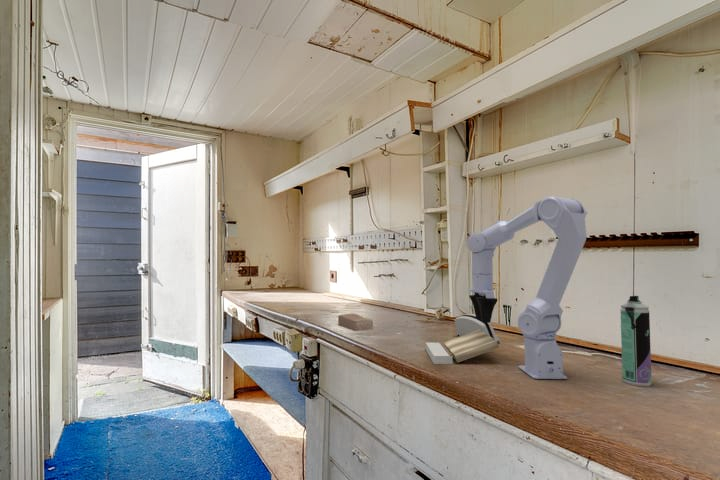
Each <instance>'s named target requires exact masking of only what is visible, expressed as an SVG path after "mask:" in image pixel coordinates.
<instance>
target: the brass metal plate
mask: <svg viewBox="0 0 720 480" xmlns="http://www.w3.org/2000/svg"><path fill="white" fill-rule="evenodd" d="M443 344H444V346H445V347H446V348H447V349H448V351H449V352H450V353H451V354H452V359H453V360H454V361H455V362H456V363H457V364H458V363H460V362H464V361H466V360H468V359H472V358H474V357H475V358H476V357H478V356H480V355H484V354H487V353H488V352H492V351H494V350H497V349H499V348H500V346H499V343H497V341H496V340H495V339H493V338H492V337H490V336H489V335H487V334H486V333H484V332H483V331H481V330H480V329H479V330H477V331H474V332H471V333H468V334H466V335H463V336H457V337H454V338H452V339H449V340H447V341H444V342H443Z"/></svg>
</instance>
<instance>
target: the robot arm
mask: <svg viewBox="0 0 720 480" xmlns="http://www.w3.org/2000/svg"><path fill="white" fill-rule="evenodd" d="M587 214H588V212H587V210H586V208H585V207H584V206H583V204H582V202H581V201H579V200H578V199H575V198H567V197H566V198H564V197H558V196H554V195H549V196H546V197H543V199H542V200H538V201H535V203H534V204H533V205H532V206H531V207H529V208H527V209H526V210H524V211H522V213H519V214H518V215H517V216H515V217H514V218H512V219H511V220H509V221H506V220H496V221H495V222H494V224H493V225H491V226H490V227H488V228H484V229H482V231H481V232H473V233H472V234H471V235H469V237H468V239H467V247H468V249H469V251H471V272H472V273H471V274H472V277H471V278H472V285H471V286H472V288H468V289H467V290H468V292H471V293H472V294H470V295H469V299H470V301H471V303H472V305H473V310H474V314H475V315H476V319H482V322H483V323H490V322H491V321H492V317H493V316H492V315H493V312H494V309H495V306H496V304H497V302H498V298H497V297H496V298H495V291H494V290H495V289H494V280H493V279H494V278H493V276H494V274H493V271H494V270H493V267H494V266H493V258H494V253H495V251H496V249H497V247H499V246H501V245H503V244H505V243H506V242H509V241H510V240H512V239H513V238H514V236H515V233H517V232H519V231H521V230H523V229H525V228H529V227H530V226H533V225H535V224H536V223H539V222H543V223H545V224H546V225H547V227H549V228H550V229H551V230H552V231H553V232H554V234H555V236H556V237H557V243H556V245H555V247H554V250H553V252H552V254H551V257H550V260H549V262H548V264H547V268H546V269H545V270H546V271H545V272H544V276H543V278H542V281H541V283H540V285H539V288H538V292H537V294H536V297H534V299H532V300H531V301H530V302H529V303H528V304H527V305H526V307H525V309H524V311H523V312H522V313H520V314H519V316H518V317H517V327H518V329H519V332H521V334H522V337H524V338H523V340H524V343H523V344H524V345H523V347H524V365H518V368H519V369H521V370H522V371H523V372H525V374H527V375H529V376H530V377H531V378H533V379H536V380H539V379H540V380H541V379H542V380H547V379H548V380H549V379H550V380H568V376H566V375H565V374H564V360H563V358H564V355H563V351H562V348H561V347H560V345H558V343H557V339H556V338H557V332H559V330H560V329H561V327H562V315H563V312H564V311H563V309H562V307H561V306H560V305H561V301H562V299H563V297H564V295H565V291H566V289H567V287H568V285H569V282H570V279H571V278H572V277H571V276H572V275H573V273H574V270H575V267H576V265H577V262H578V260H579V258H580V256H581V254H582V250H583V248H584V246H585V244H586V241H587V229H586V228H587V227H586V226H587V225H586V217H587Z"/></svg>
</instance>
